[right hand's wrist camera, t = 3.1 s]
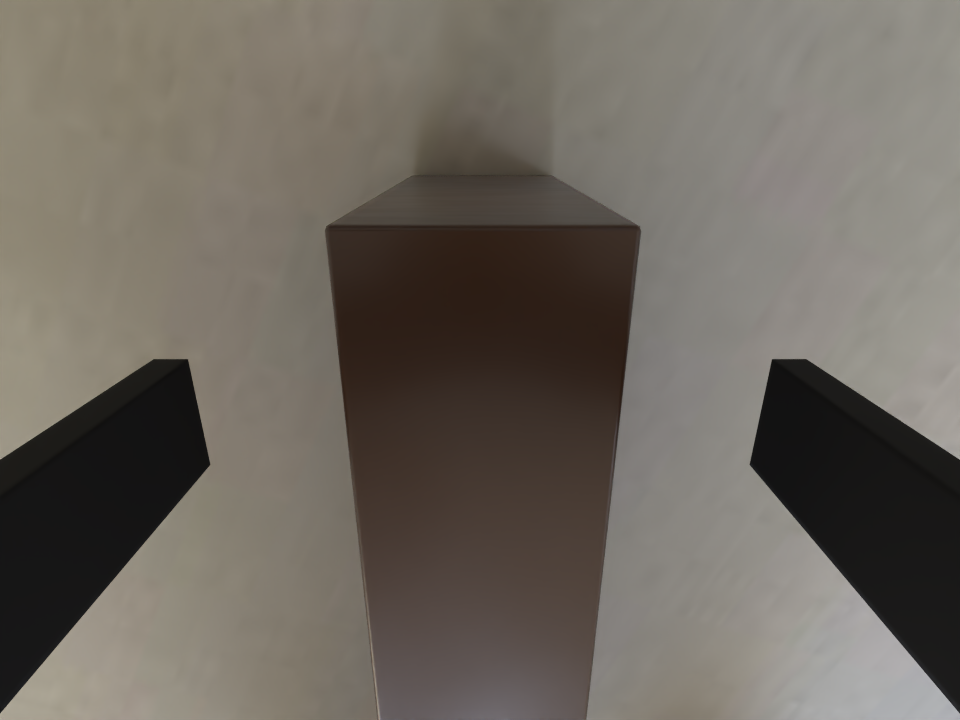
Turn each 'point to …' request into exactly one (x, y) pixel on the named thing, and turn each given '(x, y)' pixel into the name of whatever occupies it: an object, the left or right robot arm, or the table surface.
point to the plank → (482, 435)
